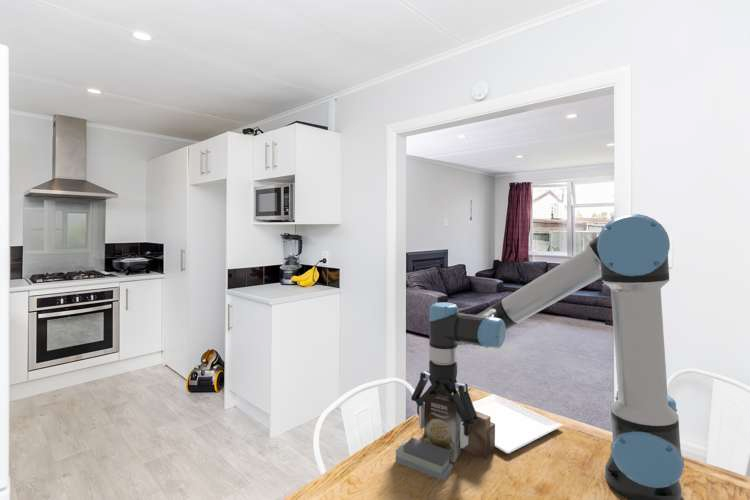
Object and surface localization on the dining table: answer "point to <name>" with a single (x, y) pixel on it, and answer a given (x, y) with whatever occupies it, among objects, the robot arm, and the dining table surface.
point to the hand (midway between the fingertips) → (442, 436)
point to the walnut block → (482, 437)
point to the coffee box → (442, 424)
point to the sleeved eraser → (425, 458)
